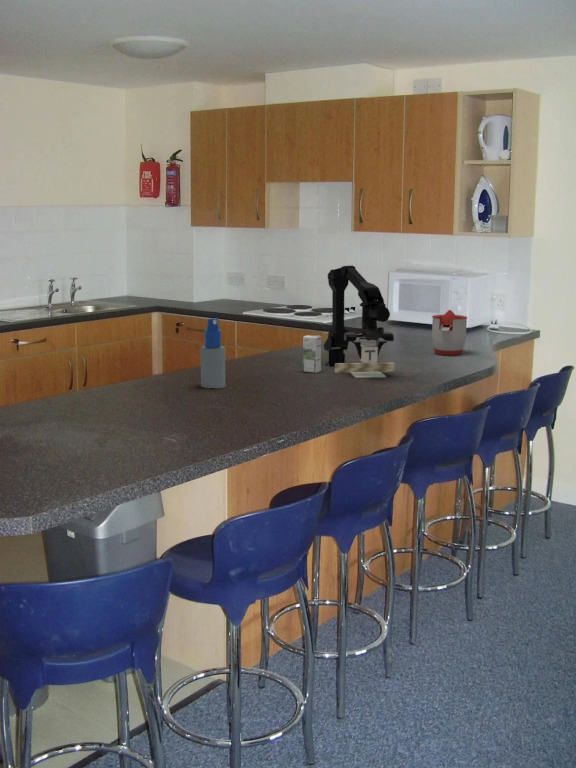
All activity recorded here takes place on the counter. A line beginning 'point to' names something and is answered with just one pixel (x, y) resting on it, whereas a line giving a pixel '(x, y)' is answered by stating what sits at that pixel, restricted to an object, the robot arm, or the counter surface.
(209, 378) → the spray bottle
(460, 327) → the citrus juicer
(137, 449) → the counter surface
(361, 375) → the sage mat
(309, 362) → the syrup box
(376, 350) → the letter cube
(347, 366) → the birch screen
